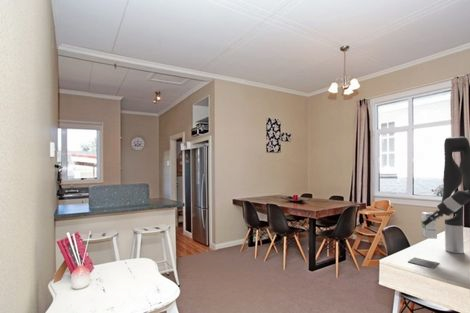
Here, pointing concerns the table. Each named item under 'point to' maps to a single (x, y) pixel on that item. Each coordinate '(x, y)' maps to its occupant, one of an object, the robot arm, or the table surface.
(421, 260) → the mat
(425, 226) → the syrup box
